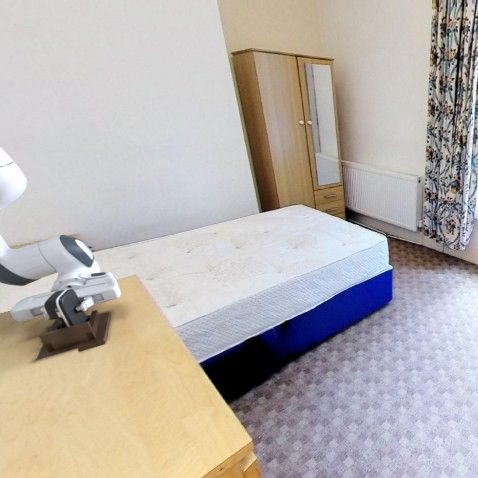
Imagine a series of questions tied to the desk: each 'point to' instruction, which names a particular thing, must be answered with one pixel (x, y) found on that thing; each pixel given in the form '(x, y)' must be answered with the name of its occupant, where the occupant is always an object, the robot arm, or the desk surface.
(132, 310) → the desk surface
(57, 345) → the dock
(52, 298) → the battery charger
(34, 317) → the robot arm
